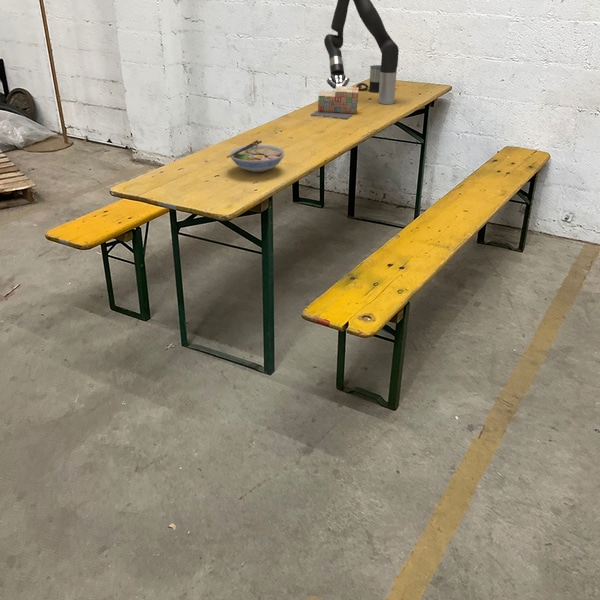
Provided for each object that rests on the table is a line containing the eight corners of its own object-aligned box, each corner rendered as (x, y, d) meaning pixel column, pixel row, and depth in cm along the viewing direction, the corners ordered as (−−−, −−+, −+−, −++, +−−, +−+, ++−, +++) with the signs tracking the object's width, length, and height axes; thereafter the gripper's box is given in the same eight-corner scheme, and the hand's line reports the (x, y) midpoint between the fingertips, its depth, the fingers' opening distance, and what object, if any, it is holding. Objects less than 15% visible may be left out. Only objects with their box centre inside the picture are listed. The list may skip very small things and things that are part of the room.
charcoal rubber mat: (316, 112, 343) (316, 111, 342) (352, 115, 335) (352, 114, 335) (310, 115, 335) (310, 114, 335) (347, 119, 328) (347, 118, 328)
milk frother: (385, 92, 386) (387, 67, 378) (361, 93, 383) (362, 68, 376) (378, 87, 398) (379, 63, 390) (354, 89, 395) (355, 64, 388)
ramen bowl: (265, 183, 243) (264, 162, 239) (217, 174, 253) (216, 154, 249) (296, 165, 262) (296, 146, 258) (251, 157, 272) (250, 139, 268)
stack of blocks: (317, 111, 341) (318, 90, 332) (318, 105, 345) (319, 84, 337) (356, 113, 339) (358, 92, 331) (357, 108, 344) (358, 86, 335)
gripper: (325, 63, 340) (328, 90, 335) (349, 62, 341) (352, 90, 337) (324, 71, 347) (327, 98, 342) (347, 70, 348) (350, 98, 344)
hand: (339, 94), depth 340 cm, fingers closed
